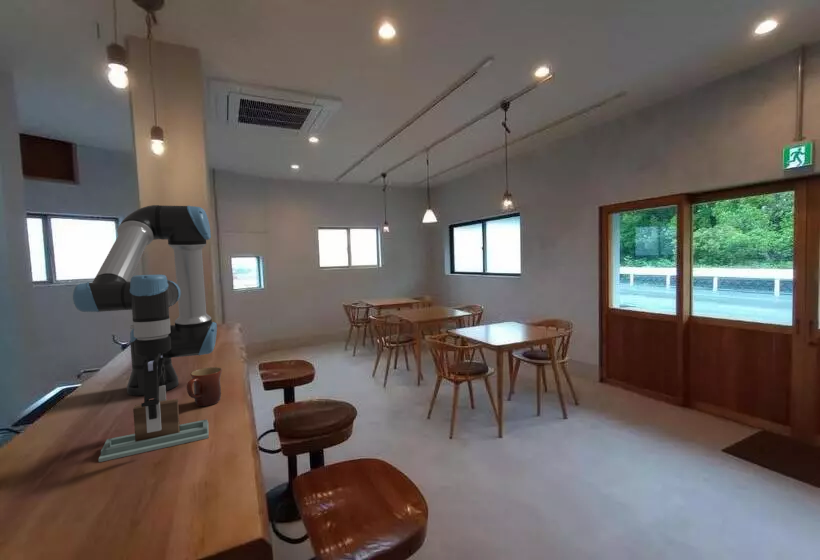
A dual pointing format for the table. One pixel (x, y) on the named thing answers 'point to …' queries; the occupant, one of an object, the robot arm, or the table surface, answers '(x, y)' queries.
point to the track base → (153, 441)
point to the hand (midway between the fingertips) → (157, 420)
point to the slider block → (168, 420)
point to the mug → (205, 386)
